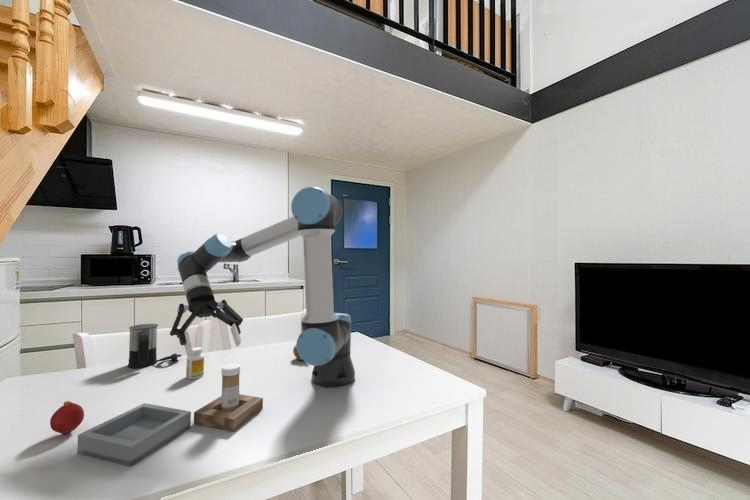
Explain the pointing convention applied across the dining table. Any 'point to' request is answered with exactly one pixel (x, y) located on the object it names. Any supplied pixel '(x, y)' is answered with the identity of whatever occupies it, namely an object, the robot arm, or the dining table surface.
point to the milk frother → (144, 346)
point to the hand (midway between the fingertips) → (215, 348)
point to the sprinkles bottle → (230, 387)
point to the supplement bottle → (195, 364)
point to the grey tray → (133, 434)
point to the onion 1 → (67, 418)
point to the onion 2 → (296, 353)
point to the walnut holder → (228, 413)
